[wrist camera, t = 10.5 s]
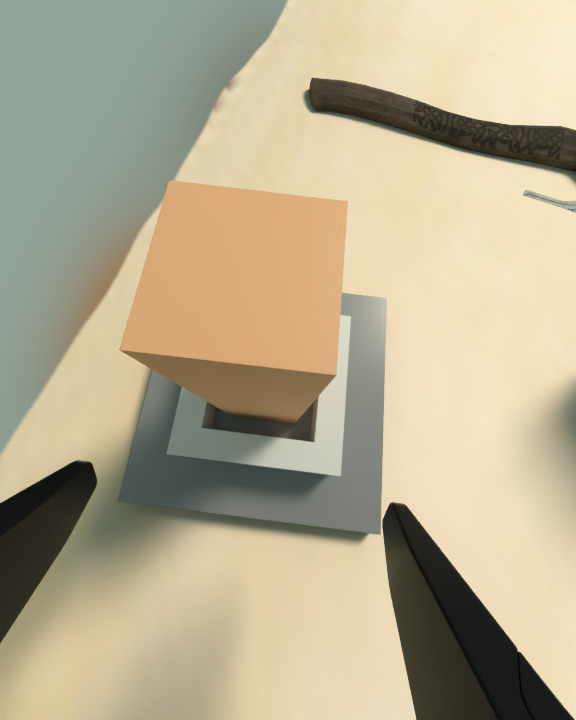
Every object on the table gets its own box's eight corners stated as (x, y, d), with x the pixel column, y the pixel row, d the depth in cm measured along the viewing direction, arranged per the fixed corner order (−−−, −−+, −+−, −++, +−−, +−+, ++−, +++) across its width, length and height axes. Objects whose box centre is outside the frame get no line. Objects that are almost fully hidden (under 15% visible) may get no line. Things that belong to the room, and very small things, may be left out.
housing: (373, 528, 17) (398, 550, 14) (128, 497, 17) (89, 511, 14) (380, 306, 22) (400, 279, 18) (183, 281, 22) (165, 249, 18)
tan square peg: (295, 423, 18) (336, 375, 5) (231, 415, 18) (119, 349, 5) (301, 361, 19) (347, 201, 6) (241, 354, 19) (169, 180, 6)
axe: (324, 38, 27) (652, 128, 25) (321, 70, 29) (618, 153, 27) (282, 138, 25) (628, 243, 23) (283, 162, 28) (596, 259, 26)
